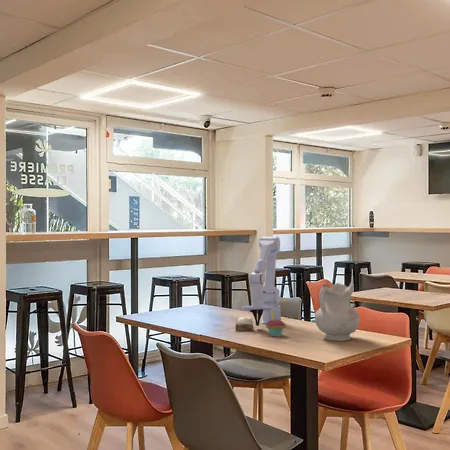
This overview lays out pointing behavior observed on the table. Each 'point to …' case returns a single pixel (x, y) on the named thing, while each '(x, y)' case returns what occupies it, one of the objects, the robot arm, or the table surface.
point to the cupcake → (275, 326)
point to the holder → (244, 327)
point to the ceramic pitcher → (337, 312)
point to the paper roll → (244, 320)
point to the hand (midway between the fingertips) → (257, 325)
